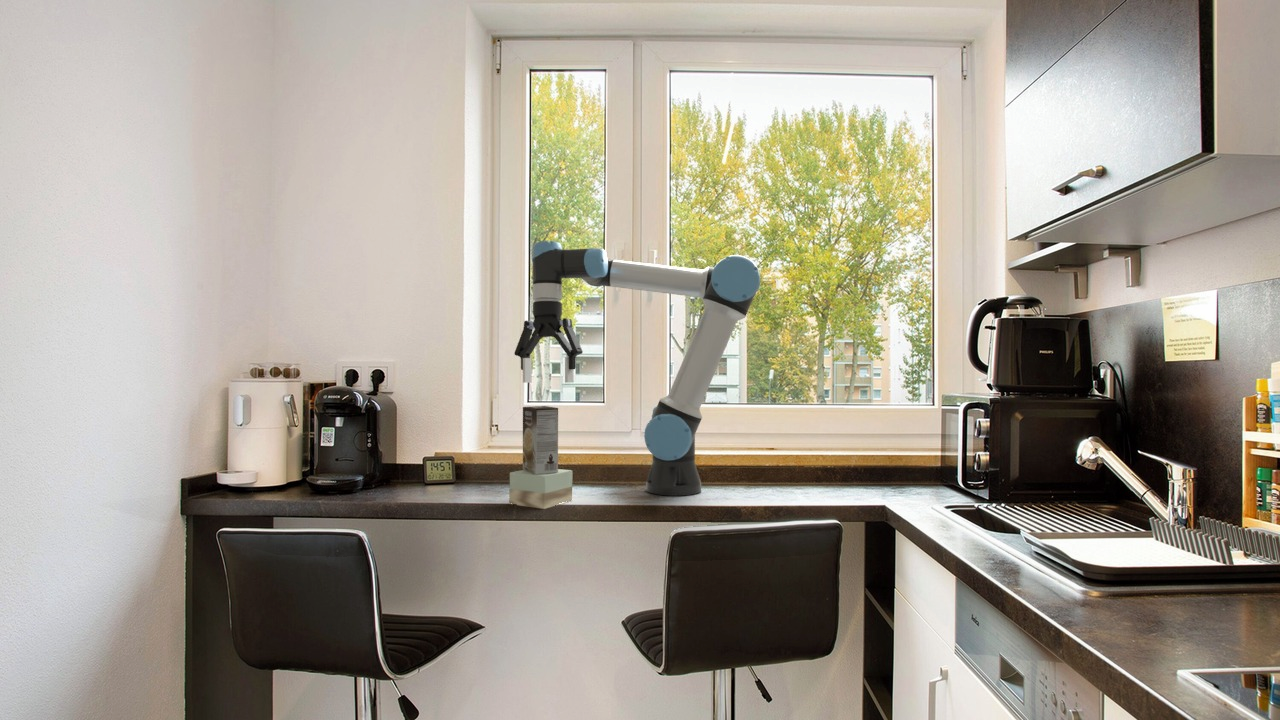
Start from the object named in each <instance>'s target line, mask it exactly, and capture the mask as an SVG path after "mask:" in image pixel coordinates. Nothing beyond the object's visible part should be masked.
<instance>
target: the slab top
mask: <svg viewBox="0 0 1280 720" xmlns="http://www.w3.org/2000/svg"><path fill="white" fill-rule="evenodd" d="M568 487H572V488H573V470H571V469H563V468H562V469H560V468H558V472H556V473H546V474H533V473H531V472H528V471H525V470H523V469H522V470H516V471H511V472H509V489H515V490H523V491H531V492H539V493H548V492H552V491H556V490H560V489H564V488H568Z"/></svg>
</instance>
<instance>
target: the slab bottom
mask: <svg viewBox="0 0 1280 720" xmlns="http://www.w3.org/2000/svg"><path fill="white" fill-rule="evenodd" d="M508 493H509V494H508V497H509V498H508V504H509V503H512V504H511V505H513V504H517V505H516V506H521V507H529V508H533V509H534V508H536V509H542V510H543V509H544V510H547V509H549V508H553V507H555V505H556V506H558V505H557V504H559V503H562V502H566V501H570V500H572V501H573V486H572V487H568V488H564V489H560V490H556V491H552V492H548V493H539V492H531V491H523V490H515V489H510V488H509V491H508ZM570 502H571V501H570Z"/></svg>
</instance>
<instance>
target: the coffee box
mask: <svg viewBox="0 0 1280 720" xmlns="http://www.w3.org/2000/svg"><path fill="white" fill-rule="evenodd" d="M558 469H559V408H558V407H555V406H549V405H541V406H540V405H539V406H534V405H533V406H523V407H522V470H525V471H528V472H531V473H533V474H546V473H556V472H558Z"/></svg>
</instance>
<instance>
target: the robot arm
mask: <svg viewBox="0 0 1280 720" xmlns="http://www.w3.org/2000/svg"><path fill="white" fill-rule="evenodd" d="M531 260H532V261H531V262H532V300H533V303H532V315H533V317H534V319H533V321H532V320H524V322H523V329H522V332H521V334H520V338H519V341H518V342H517V345H516V347H515V351H514V353H513V354H514V356H517V357H519V358H520V369H521V371H522V383H523V384H525V383H526V384H529V383H532V379H533V378H532V377H533V376H532V370H533V369H532V368H533V367H532V366H533V365H532V358H531V354H533V351H534V350H535V348H536V347H537V345H538V343H539V342H540V341H541V340H542V339H543V338H549V337H551V338H554V339H555V340H556V342H558V344H559V346H560V347H561V348H562V349H563V351H564V353H565V354H566V355H565V357H564V383H569V384H570V383H574V379H575V378H574V370H576V368H577V367H576V365H577V356H579V355H582V354H583V349H582V347H581V345H580V342H579V340H578V338H577V335H576V333H575V330H574V328H573V321H572V319H571V318H564V317H563V318H562V317H561V316H562V315H563V304H562V302H560V301H562V299H563V298H562V297H563V296H562V295H563V293H562V292H563V290H562V289H563V287H562V285H563V283H562V282H563V279H581V280H583V281H584V282H585V283H586V284H587V285H590V286H591V287H612V288H620V289H629V290H636V291H637V290H638V291H644V292H653V293H660V294H661V293H662V294H669V295H677V296H683V297H684V296H686V297H693V298H699V299H701V301H702V303H703V305H704V310H703V313H702V315H701V318H700V319H699V322H698V324H697V327H696V329H695V332H694V334H693V337H692V339H691V341H690V344H689V345H688V348H687V351H686V352H685V354H684V357H683V359H682V361H681V364H680V366H679V369H678V372H677V373H676V377H675V378H674V381H673V383H672V385H671V388H670V390H669V393H668V395H666V396H663V397H662V398H660V399H659V401H658V404H657V405H656V406H654V408H653V409H652V414H651V419H650V420H649V422H647V424H646V426H645V429H644V435H643V437H644V443H645V445H646V447H647V450H648V451H649V452H650V454H652V463H651V467H650V469H649V472H648V476H647V477H646V480H645V481H646V482H645V490H646V492H648V493H650V494H654V495H659V496H660V495H662V496H689V495H695V494H699V493H701V492H702V482H701V478H700V475H699V471H698V468H697V464H696V444H695V443H696V442H695V441H696V433H697V431H698V429H699V426H700V423H701V422H702V419H703V416H702V413H701V411H700V408H701V406H702V403H703V402H704V399H705V396H706V395H707V392H708V390H709V387H710V385H711V383H712V380H713V378H714V376H715V374H716V371H717V369H718V366H719V363H720V362H721V360H722V356H723V355H724V352H725V350H726V347H727V345H728V343H729V341H730V338H731V335H732V334H733V331H734V329H735V326H736V324H737V322H738V321H740V320H743V319H745V318H746V317H747V314H748V311H749V309H750V307H751V306H752V303H753V300H754V298H755V296H756V295H757V292H758V290H759V288H760V285H761V273H760V271H759V268H758V266H757V265H756V264H755V262H754V261H753V260H751V259H750V258H748V257H747V256H743V255H738V254H731V255H728V256H725V257H724V258H722V259H720V261H718V262H717V264H715V265H714V266H707V267H705V268H704V269H699V268H690V267H683V266H682V267H681V266H671V265H663V264H654V263H647V262H646V263H643V262H635V261H626V260H618V259H610V258H608V255H607V251H606V250H605V249H603V248H595V247H590V248H573V249H572V248H571V249H565V248H563V247H562V244H561V243H560V242H558V241H555V240H554V241H553V240H551V241H550V240H540V241H538V242H535V243H534V244H533V247H532V258H531ZM561 328H563V331H564V332H563V331H562V330H561Z"/></svg>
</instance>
